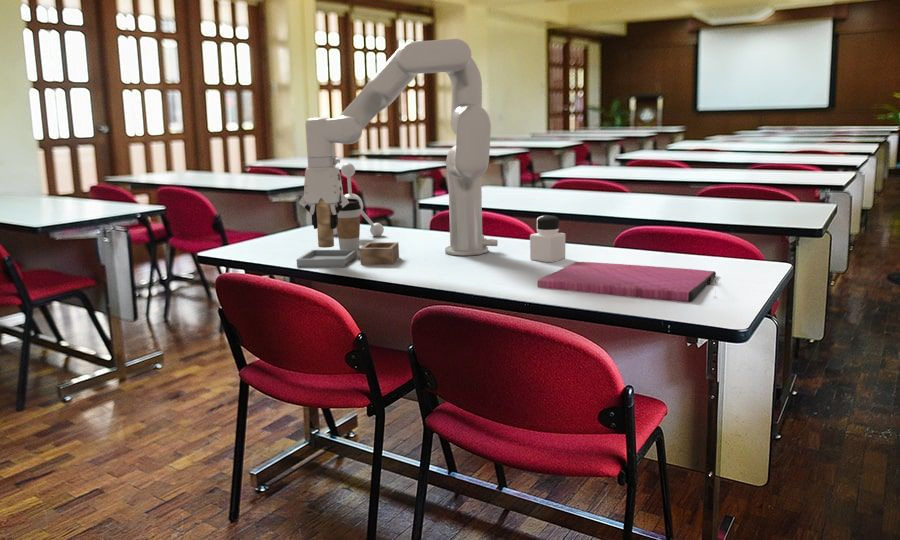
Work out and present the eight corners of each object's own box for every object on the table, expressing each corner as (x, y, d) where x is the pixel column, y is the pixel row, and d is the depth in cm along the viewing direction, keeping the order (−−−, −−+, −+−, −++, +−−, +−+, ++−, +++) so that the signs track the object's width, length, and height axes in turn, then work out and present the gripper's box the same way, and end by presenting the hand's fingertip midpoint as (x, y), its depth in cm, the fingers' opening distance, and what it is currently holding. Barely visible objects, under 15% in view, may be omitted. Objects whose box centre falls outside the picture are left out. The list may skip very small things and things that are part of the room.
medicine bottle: (565, 258, 215) (566, 215, 212) (550, 263, 210) (550, 219, 207) (545, 255, 219) (544, 213, 217) (529, 259, 214) (529, 217, 212)
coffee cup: (365, 245, 242) (363, 198, 238) (360, 251, 233) (357, 201, 230) (339, 246, 242) (336, 198, 239) (332, 251, 234) (329, 202, 231)
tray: (357, 256, 225) (357, 249, 225) (344, 266, 212) (344, 259, 212) (312, 256, 227) (312, 249, 227) (297, 266, 214) (296, 259, 214)
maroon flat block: (536, 273, 183) (575, 254, 206) (536, 290, 184) (575, 269, 207) (710, 287, 164) (733, 264, 187) (710, 305, 165) (732, 280, 188)
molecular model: (331, 235, 265) (325, 162, 260) (386, 234, 262) (381, 160, 257) (314, 245, 247) (307, 166, 242) (374, 243, 245) (368, 164, 239)
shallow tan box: (399, 257, 222) (398, 242, 221) (392, 264, 213) (391, 248, 212) (368, 257, 223) (367, 242, 222) (360, 264, 215) (359, 248, 214)
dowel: (336, 244, 220) (333, 195, 217) (331, 247, 216) (328, 197, 213) (321, 244, 221) (318, 195, 218) (316, 247, 217) (313, 197, 214)
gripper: (354, 161, 216) (357, 226, 220) (296, 162, 218) (300, 226, 222) (347, 163, 209) (350, 230, 213) (287, 164, 211) (292, 230, 215)
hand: (325, 227), depth 218 cm, fingers closed on dowel, 4 cm apart
